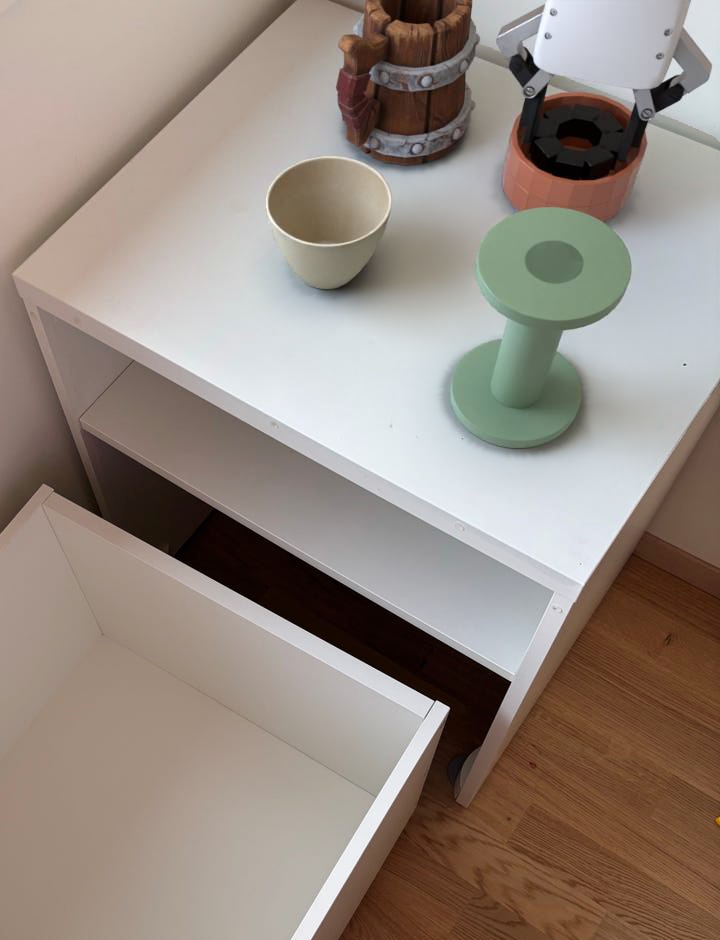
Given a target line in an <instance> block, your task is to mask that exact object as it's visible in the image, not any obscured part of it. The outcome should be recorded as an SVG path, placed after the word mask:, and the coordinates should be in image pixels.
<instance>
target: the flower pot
mask: <svg viewBox="0 0 720 940" xmlns="http://www.w3.org/2000/svg"><path fill="white" fill-rule="evenodd" d="M392 207H393V194H392V190H391V187H390V185H389V183H388V182H387V181H386V179H385V177H384V176H383V174H381V173H380V172H379V171H378V170H376V169H375V168H374V167H372V166H371V165H369V164H367V163H365V162H363V161H361V160H357V159H355V158H351V157H347V156H340V155H322V156H316V157H311V158H307V159H303V160H301V161H298V162H296V163H294V164H292V165H290V166H288V167H287V168H285V169H284V170H283V171H281V172H280V173H279V174H278V175H277V176H276V177H275V178H274V179H273V181H272V182H271V183H270V186H269V187H268V190H267V192H266V197H265V209H266V214H267V220H268V224H269V227H270V230H271V231H270V232H271V233H272V236H273V239H274V242H275V244H276V246H277V248H278V250H279V252H280V254H281V256H282V258H283V259H284V260H285V262H286V263H287V265H288V267H290V268H291V270H292V271H293V272H294V274H295V275H296V276H297V277H298V278H299V279H300V280H301V281H302V282H304V283H305V284H306V285H308V286H310V287H312V288H315V289H318V290H319V289H320V290H333V289H337V288H340V287H343V286H345V285H346V284H348V283H349V282H351V280H352V279H354V278H355V277H356V276H357V275H358V274H359V273H360V272H361V271H362V270H363V268H364V267H365V266H366V264H367V263H368V262H369V260H370V259H371V257H372V256H373V255H374V253H375V251H376V250H377V248H378V246H379V244H380V242H381V240H382V238H383V236H384V233H385V230H386V228H387V226H388V223H389V219H390V215H391V212H392Z"/></svg>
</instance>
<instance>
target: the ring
mask: <svg viewBox="0 0 720 940" xmlns="http://www.w3.org/2000/svg"><path fill="white" fill-rule="evenodd" d="M601 110H602V108H597V107H592V106H587V105H582V104H576V103H575V104H574V107H573V110H572V108H571V107H570V106H569V105H568V104H565V105H563V106H560V107H558V108H555V109H552V110H550V111H547V112H545V113H544V115H543V118H542V117H540V118H539V121H538V124H537V127H536V129H535V132H534V135H533V139H532V142H531V145H530V149H529V153H530V154H531V156H530V159H531V160H532V162H533V163H534V164H535V165H536V166H537V167H538V169H540V170H542V171H544V172H547V173H552V175H553V176H555V177H560V178H565V179H570V180H575V181H579V180H580V178H581V179H582V180H596V179H599V178H601V177H604V176H606V175H608V174H609V173H610V170H614V168H615V165H616V162H617V157H618V154H619V151H620V148H621V144H622V141H623V138H624V134H625V133H622V131H623V127H622V126H621V125H620V124H619V123H618V122H617V120H616V119H615V118H614V117H613V116H612V115H611V114H610V113H609V112H606V113H604V114H601V115H600V113H601ZM569 136H571V137H576V138H581V139H586V140H588V141H589V142H590V143H591V144H592V145H593V148H590V149H588V150H585V151H580V150H575V149H570V148H565V147H564V146H563V145H562V144H561V142H560V141H559V140H562V139H564V138H567V137H569Z"/></svg>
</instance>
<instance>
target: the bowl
mask: <svg viewBox="0 0 720 940" xmlns="http://www.w3.org/2000/svg"><path fill="white" fill-rule="evenodd" d="M575 103H576V104H582V105H587V106H592V107H597V108H602V110H601V113H600V115H601V114H604V113H606V112H609V113H610V114H611V115H612V116H613V117H614V118H615V119H616V120H617V122H618V123H619V124H620V125H621V126H622V127H623V131H622V133H625V131H626V128H627V125H628V122H629V119H630V116H631V113H632V110H630V109H629V108H628V107H627V106H626V105H624V104H622V103H621V102H619V101H616V100H614V99H612V98H610V97H607V96H605V95H602V94H596V93H591V92H585V91H566V92H565V91H564V92H559V93H554V94H551V95H545V99H544V103H543V107H542V111H541V116H540V117H542V118H543V115H544V113H545V112H547V111H550V110H552V109H555V108H558V107H560V106H563V105H565V104H568V105H569V106H570V107H571V108H572V110H573V107H574V104H575ZM521 113H522V111H521V112H520V113H519V114H518V115H517V116H516V117H515V120H514V122H513V124H512V128H511V131H510V135H509V140H508V144H507V149H506V152H505V153H506V154H505V158H504V163H503V166H502V167H503V168H502V172H501V182H502V183H501V184H502V190H503V192H504V195H505V196H506V198H507V200H508V202H509V203H510V205H511V206H513V208H515V209H516V210H517V212H521V211H524V210H528V209H533V208H541V207H557V208H566V209H572V210H575V211H579V212H582V213H585V214H588V215H590V216H592V217H594V218H596V219H598V220H600V221H602V222H603V223H605V221H607V220H609V219H611V218H612V217H614V216H616V215H617V214H618V213H619V212H620V211H621V210H622V209H623V207H624V206H625V205H626V204H627V203H628V201H629V198H630V196H631V193H632V190H633V188H634V185H635V182H636V179H637V176H638V173H639V171H640V169H641V166H642V163H643V160H644V157H645V154H646V150H647V147H648V139H647V138H648V137H647V133H646V131H645V132H644V135H643V138H642V141H641V143H640V146H639V148H634V147H630V149H629V152H628V155H627V158H626V161H625V163H624V162H619V160H618V159H617V162H616V165H615V168H614V170H610V173H609V174H608V175H606V176H604V177H601V178H599V179H596V180H582V179H581V178H580V180H579V181H575V180H570V179H565V178H560V177H555V176H553V175H552V173H547V172H544V171H542V170H540V169H538V167H537V166H536V165H535V164H534V163H533V162H532V160H531V159H530V156H531V154H530V153H529V149H530V145H531V142H529V143H524V142H523V139H524V134H525V130H526V126H522V125H519V122H520V117H521ZM559 141H560V142H561V144H562V145H563V146H564V147H565V148H570V149H575V150H580V151H585V150H588V149H590V148H593V145H592V144H591V143H590V142H589V141H588V140H586V139H581V138H576V137H571V136H569V137H567V138H564V139H562V140H559Z"/></svg>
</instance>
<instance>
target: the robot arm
mask: <svg viewBox="0 0 720 940" xmlns="http://www.w3.org/2000/svg"><path fill="white" fill-rule="evenodd" d="M691 2H692V0H545V3H544V4H542V5H540V6H539V7H536V8H535V9H533V10H531V11H529V12H527V13H525V14H523V15H522V16H520V17H517V18H516V19H514V20H512V21H510V22H508V23H507V24H505V25H503V26H501V27H500V29H499V32H498V34H497V36H496V37H497V38H496V40H495V41H496V42H495V43H496V46H497V47H498V49H499V51H500V53H501V54H502V56H503V58H504V60H505V61H507V63H508V69H509V71H510V72H511V74H512V75H513V77H514V78H515V80H516V81H517V83H518V84H519V85H520V87H521V89H522V90H521V94H522V96H523V97H524V99H523V105H522V108H521V112H522V113H521V112H520V113H521V117H520V122H519V125H522V126H526V130H525V134H524V139H523V142H524V143H529V142H532V139H533V135H534V132H535V129H536V127H537V124H538V121H539V118H540V116H541V111H542V107H543V103H544V99H545V97H546V96H547V91H548V87H549V83H550V81H551V80H552V79H553V78H554V77H555V76H560V77H564V78H570V79H574V80H581V81H586V82H591V83H596V84H602V85H606V86H607V85H608V86H613V87H618V88H624V89H630V90H632V93H633V96H634V104H633V106H632V110H631V111H632V113H631V116H630V119H629V122H628V125H627V128H626V131H625V134H624V138H623V141H622V144H621V148H620V151H619V154H618V157H617V159H618V160H619V162H624V163H625V161H626V158H627V155H628V152H629V149H630V147H634V148H639V146H640V143H641V141H642V138H643V135H644V132H646V129H647V126H648V123H649V121H651V120H653V119H654V118H655V116H656V114H657V113H659V112H661V111H663V110H665V109H667V108H669V107H671V106H673V105H675V104H676V103H679V102H680V101H681V100H682V99H683V97H684V96H686V95H687V94H690V93H692V92H693V91H695V90H697V89H698V88H699V87H701V86H703V85H704V84H705V83H707V82H708V81H709V79H710V77H711V74H712V69H713V64H712V62H711V61H710V59H709V58H708V57H707V56H706V55H705V53H704V52H703V50H702V49H701V48H700V47H699V45H698V44H697V43H696V42H695V40H694V38H692V36H691V35H690V34H689V33H688V32H687V30H686V29H685V28H684V25H685V22H686V19H687V16H688V12H689V9H690V6H691ZM535 35H536V38H535V43H534V49H533V55H532V53H531V52H530V51H529V49H528V48H527V47H526V46H524V45H523V44H524V43H523V42H524V41H525V40H527V39H530V38H531V37H534V36H535ZM673 59H674V60H675V61H676V63H677V64H678V65H679V67H680V68H681V69H682V72H681V73H680V74H676V75H674V76H671V77H669V78H668V79H665V78H666V76H667V73H668V71H669V68H670V66H671V63H672V61H673Z"/></svg>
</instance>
